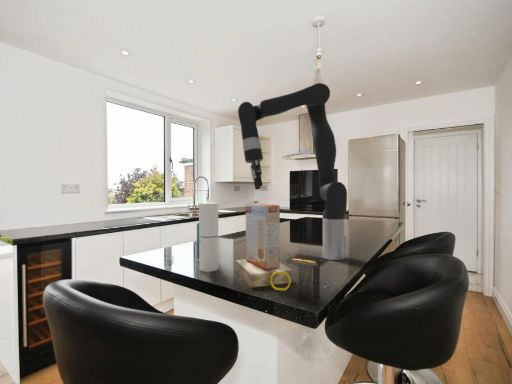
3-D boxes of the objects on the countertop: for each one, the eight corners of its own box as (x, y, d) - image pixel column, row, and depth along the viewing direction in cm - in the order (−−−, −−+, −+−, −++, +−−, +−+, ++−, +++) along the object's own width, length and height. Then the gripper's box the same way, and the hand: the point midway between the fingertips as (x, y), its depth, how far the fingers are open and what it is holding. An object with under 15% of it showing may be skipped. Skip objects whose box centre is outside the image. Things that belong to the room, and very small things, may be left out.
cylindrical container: (209, 272, 97) (209, 203, 97) (195, 269, 101) (195, 203, 101) (222, 267, 103) (222, 202, 103) (208, 265, 107) (208, 202, 107)
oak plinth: (271, 267, 104) (271, 256, 104) (292, 282, 87) (292, 270, 87) (236, 270, 99) (236, 260, 99) (251, 287, 82) (250, 274, 82)
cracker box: (280, 268, 89) (280, 204, 89) (265, 270, 86) (265, 205, 86) (259, 258, 101) (259, 203, 101) (245, 260, 98) (244, 203, 98)
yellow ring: (270, 291, 80) (269, 271, 80) (271, 288, 83) (270, 269, 83) (290, 291, 79) (289, 271, 79) (291, 288, 82) (289, 268, 82)
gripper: (263, 144, 107) (269, 184, 105) (259, 153, 121) (265, 188, 119) (244, 146, 106) (250, 187, 104) (243, 155, 120) (249, 191, 118)
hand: (258, 187), depth 112 cm, fingers open, 8 cm apart
